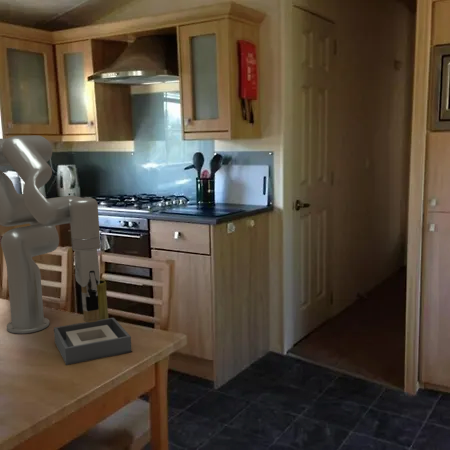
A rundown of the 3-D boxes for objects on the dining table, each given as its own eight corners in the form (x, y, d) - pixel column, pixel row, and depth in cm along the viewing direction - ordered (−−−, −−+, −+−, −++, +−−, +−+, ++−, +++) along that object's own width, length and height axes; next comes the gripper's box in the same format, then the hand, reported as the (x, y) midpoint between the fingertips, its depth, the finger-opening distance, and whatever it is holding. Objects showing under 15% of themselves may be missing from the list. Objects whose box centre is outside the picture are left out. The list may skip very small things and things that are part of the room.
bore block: (66, 341, 156) (65, 331, 155) (107, 334, 161) (107, 324, 160) (74, 356, 145) (74, 346, 145) (118, 348, 150) (118, 338, 150)
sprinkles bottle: (102, 320, 151) (99, 273, 149) (86, 324, 149) (83, 276, 146) (96, 316, 155) (93, 270, 153) (80, 319, 152) (77, 273, 150)
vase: (111, 322, 173) (109, 279, 170) (105, 329, 167) (103, 284, 164) (93, 322, 173) (90, 279, 171) (86, 329, 167) (84, 284, 165)
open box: (54, 342, 157) (53, 327, 156) (114, 331, 165) (113, 317, 164) (66, 365, 142) (65, 348, 141) (131, 352, 149) (130, 336, 148)
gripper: (66, 240, 154) (71, 302, 157) (78, 250, 139) (83, 318, 142) (92, 237, 157) (96, 298, 160) (107, 247, 142) (111, 313, 145)
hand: (90, 307), depth 151 cm, fingers closed on sprinkles bottle, 4 cm apart
